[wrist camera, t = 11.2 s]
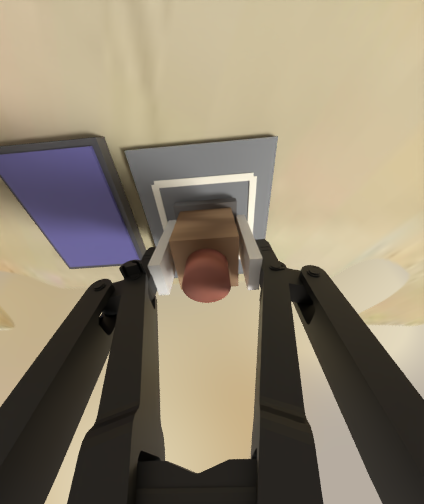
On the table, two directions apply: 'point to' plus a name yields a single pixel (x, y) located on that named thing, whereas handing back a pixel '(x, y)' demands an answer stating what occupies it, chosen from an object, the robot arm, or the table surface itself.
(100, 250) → the ink pad
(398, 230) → the table surface
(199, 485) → the robot arm
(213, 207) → the stamp
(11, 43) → the table surface
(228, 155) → the board
